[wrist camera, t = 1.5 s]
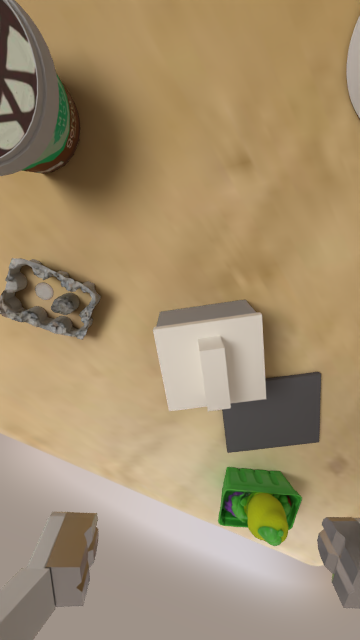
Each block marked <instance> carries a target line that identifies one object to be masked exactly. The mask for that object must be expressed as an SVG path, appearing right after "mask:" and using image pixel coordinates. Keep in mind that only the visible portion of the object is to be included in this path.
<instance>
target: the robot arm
mask: <svg viewBox="0 0 360 640" xmlns="http://www.w3.org/2000/svg"><path fill="white" fill-rule="evenodd" d="M347 85H348V91H349V95H350V99H351V102H352V104H353V107H354V109H355V111H356V113H357V115H358V116H359V118H360V16H359V18H358V21H357V23H356V26H355V28H354V31H353V34H352V38H351V42H350V46H349V51H348V58H347ZM97 521H98V517H97V513H74V512H52V514H51V515H50V517H49V518H48V521H47V523H46V525H45V527H44V530H43V532H42V534H41V537H40V539H39V541H38V543H37V546H36V548H35V550H34V552H33V555H32V557H31V559H30V561H29V564H28V566H27V568H21V569H20V570H19V572H17V573H16V574H15V575H14V576H13V577H12V578H11V579H10V580H9V581H8V582H7V583H6V584H5V585H4V586H3V587H2V588H1V589H0V640H33V639H34V638H35V636H36V635H37V634H38V632H39V631H40V630H41V628H42V627H43V625H44V624H45V623H46V621H47V620H48V618H49V617H50V616H51V614H52V613H53V612H54V610H55V607H62V606H83V605H84V601H85V596H86V593H87V589H88V585H89V581H90V575H89V568H90V567H91V566H92V564H93V563H94V560H95V555H96V551H97V544H98V529H97V527H96V525H97ZM322 526H323V528H324V529H323V530H322V531H321V532H320V533H319V535H318V539H317V541H318V550H319V553H320V556H321V559H322V561H323V563H324V566H325V567H326V568H327V569H328V570H329V571H330V572H331V573H332V574H333V576H332V583H333V586H334V588H335V590H336V592H337V594H338V597H339V599H340V601H341V603H342V605H343V607H344V608H360V518H352V517H326V518H325V519H323V522H322Z"/></svg>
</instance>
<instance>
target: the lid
mask: <svg viewBox="0 0 360 640" xmlns="http://www.w3.org/2000/svg"><path fill="white" fill-rule="evenodd" d="M153 332H154V337H155V342H156V347H157V352H158V357H159V362H160V368H161V373H162V378H163V383H164V388H165V393H166V398H167V403H168V408H169V411H175V410H183V409H191V408H199V407H207V408H208V411H214V410H222V409H230V408H231V405H230V404H231V403H238V402H246V401H254V400H262V399H266V383H265V364H264V345H263V326H262V314H261V313H260V312H258V313H251V314H243V315H236V316H229V317H222V318H215V319H208V320H201V321H194V322H187V323H180V324H173V325H166V326H159V327H154V328H153Z"/></svg>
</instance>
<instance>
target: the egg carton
mask: <svg viewBox="0 0 360 640" xmlns="http://www.w3.org/2000/svg"><path fill="white" fill-rule="evenodd" d="M24 265H29V266H31V267H32V269H33V272H34V275H36V276H37V277H39V278H42V279H43V280H45V279H48V278H50V277H52V276H55V277H57V276H60V277H57V279H58V280H60V281H61V286H62V287H65V288H66V290H68V291H71V292H73V291H76V290H77V289H78V288H80V287H81V290H82V291H83V292H84V293H85V292H88V293H90V296H91V297H92V300H91V302H90V304H89V305H88V306H87V307H86V308H84V310H83V311H81V312H80V315H79V316H80V317H81V318H82V319H81V321H82V322H83V323H84V326H83V327H81V328H80V329H76V328H74V327H72V322H71V320H70V319H69V318H68V317H66V316H59V317H57V318H56V319H51V318H48V317H47V312H46V311H45V310H44V309H43V308H42V307H39V306H35V307H32V308H30V309H28V310H27V309H24V308H23V307H22V304H21V302H20V301H19V299H17V298H16V297H15V292H17V291H20V290H22V289H24V288H25V287H26V286H27V279H26V277H25V276H24V275H23V274H22V273H20V269H21V266H24ZM68 275H69V274H68V273H67V272H64V271H61V270H60V271H58V272H55V271H52V270H50V269H48V268H47V267H45V266H43V265H41V262H39V261H37V260H34V259H32V260H29V261H28V260H25V259H13V258H12V260H11V263H10V266H9V272H8V275H7V277H6V281H7V284H6V289H5V290H4V291H3V293H2V294H1V296H0V314H2V316H4V317H8V318H10V319H12V320H15V321H19V322H27V323H29V324H31V325H33V326H35V327H40V328H43V329H46V330H49V331H51V332H53V333H56V334H61V335H68V336H74V337H77V338H78V339H83V337H84V336H85V335H86V332H87V329H88V328H89V327H90V326H91V324H92V321H93V319H92V318H91V313H92V310H93V309H94V307H95V305H96V304H98V303H99V301H100V298H101V296H100V295H98V294H97V292H96V291H95V284H94V283H91V282H89V281H87V282H85V283H83V284H81V283H79V282H77V281H74V280H73V279H71V278H69V277H68ZM35 291H36V294H37V296H38V297H39V298H41V299H44V300H48V299H51V298H52V296H53V289H52V287H51V286H50V285H49V284H47V283H39V284H37V285H36V288H35ZM78 306H79V299H78V297H77V296H76V295H75V294H73V293H66V294H63V295H62V296H60V297H58V298H57V299H55V300H54V302H53V304H52V306H51V310H52V311H53V312H55V313H60V314H63V315H67V314H70V313H72V312H73V311H74V310H75V309H77V308H78Z"/></svg>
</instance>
